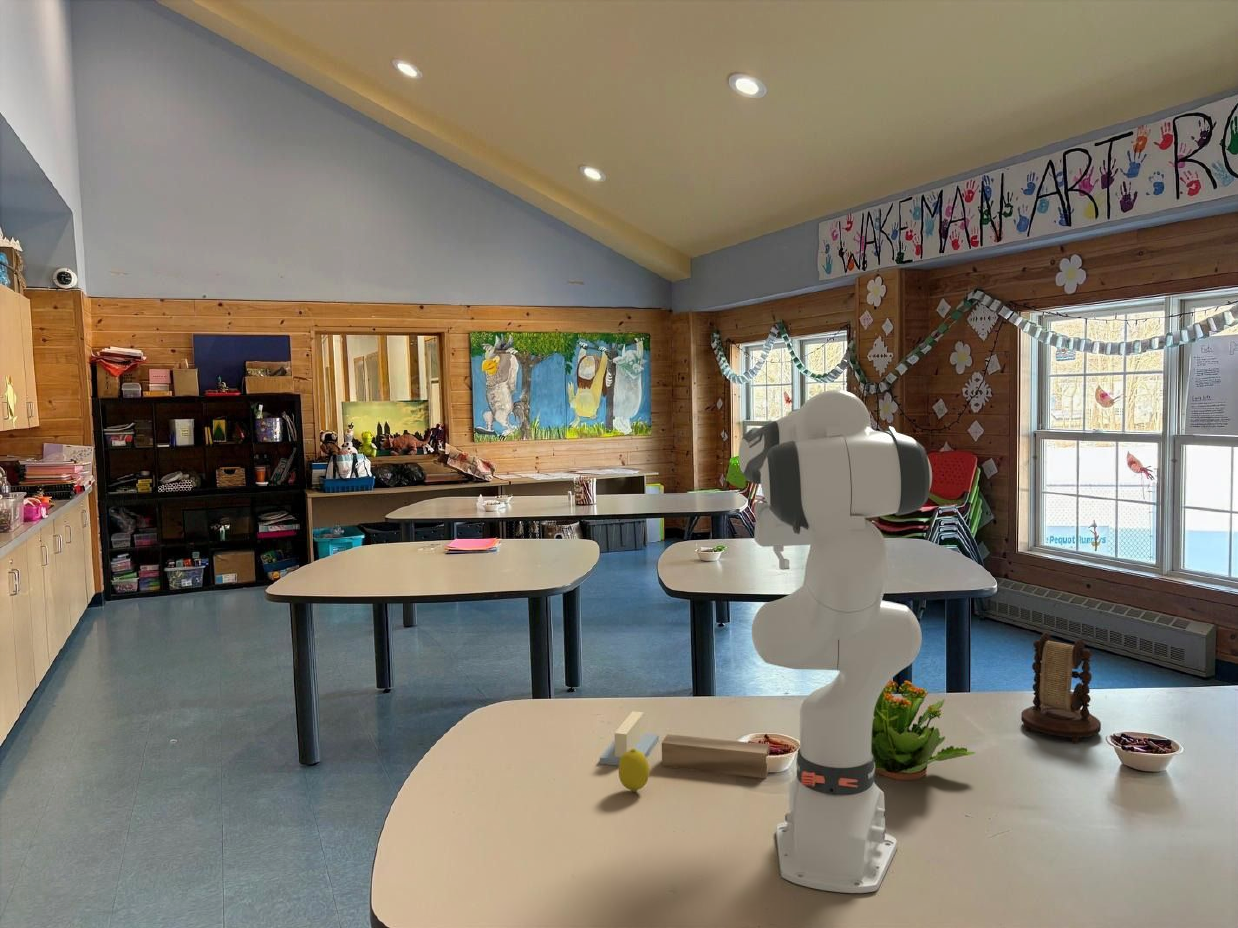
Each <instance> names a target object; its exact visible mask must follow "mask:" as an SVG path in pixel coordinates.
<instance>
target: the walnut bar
mask: <svg viewBox="0 0 1238 928" xmlns="http://www.w3.org/2000/svg"><path fill="white" fill-rule="evenodd" d="M770 751H771V748H770V744H767V743H760V742H759V743H757V742H747V741H738V740H728V739H718V738H708V737H699V736H688V735H680V734H670V733H667V734H666V736H665V737H664V738H663V740H662V741H661V767H662V768H672V769H682V770H689V771H699V772H707V773H715V774H725V775H733V776H743V777H752V778H761V779H767V778H768V774H769V772H767V763H766V757H767V756H768V755H769V753H771V752H770Z"/></svg>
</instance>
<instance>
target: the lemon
mask: <svg viewBox="0 0 1238 928" xmlns="http://www.w3.org/2000/svg"><path fill="white" fill-rule="evenodd" d="M649 777H650V765H649V761H648V758H646V757H645V755H644V754H643V753H642V752H640V751H638V750H636V749H631V750H630V751H627V752H626V753H625V754H624V755H623V756H622V757H621V759H620V763H619V766H618V778H619V781H620V783H621V785H623V787H625V788H626V789H628V790H629V791H631V792H632V793H636V792H637V791H639V790H641V789H642V788H644V787H645V785H646V784H647V783H648V780H649Z"/></svg>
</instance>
